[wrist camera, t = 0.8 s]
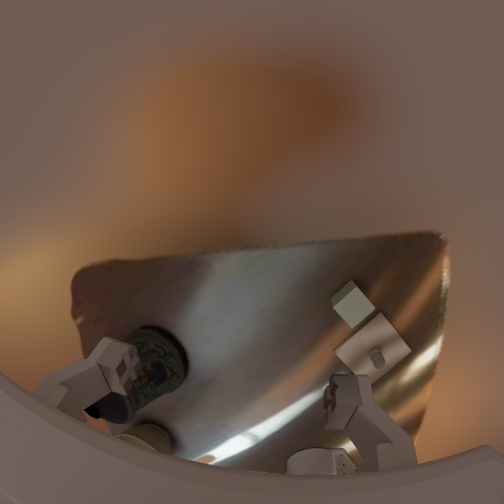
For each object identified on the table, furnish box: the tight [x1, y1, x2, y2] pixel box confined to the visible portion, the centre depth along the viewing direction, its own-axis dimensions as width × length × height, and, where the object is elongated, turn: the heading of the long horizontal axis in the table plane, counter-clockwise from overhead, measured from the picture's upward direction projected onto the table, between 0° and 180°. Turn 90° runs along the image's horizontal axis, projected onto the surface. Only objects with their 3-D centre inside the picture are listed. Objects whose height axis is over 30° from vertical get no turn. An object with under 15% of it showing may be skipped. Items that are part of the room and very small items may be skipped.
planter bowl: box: [117, 423, 172, 456], centre depth 59 cm, size 16×16×11 cm
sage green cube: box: [330, 280, 375, 329], centre depth 47 cm, size 5×5×6 cm
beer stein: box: [84, 328, 188, 424], centre depth 48 cm, size 16×19×25 cm
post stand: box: [333, 311, 411, 384], centre depth 47 cm, size 12×12×7 cm
